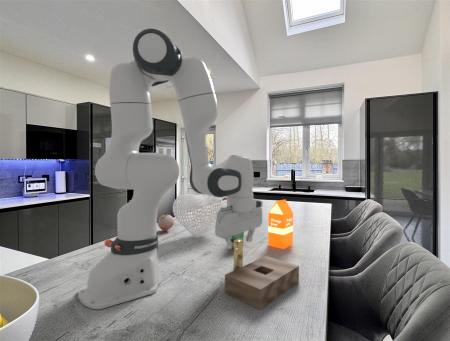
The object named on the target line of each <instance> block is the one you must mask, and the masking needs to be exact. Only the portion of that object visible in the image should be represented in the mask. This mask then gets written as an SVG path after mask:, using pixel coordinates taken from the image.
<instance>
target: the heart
mask: <svg viewBox="0 0 450 341" xmlns="http://www.w3.org/2000/svg"><path fill="white" fill-rule="evenodd" d="M221 208H224V200H223V197H214V196H210V195H206V194H199V193H198V194H194V193H183V194H180V195H178V196H177V197H176V199H174V201H173V204H172V213H173V216H174V217H175V219H176V220H177V221H178V223H179V224H180V225H181V226H183V227H184V228H185V229H186V230H187V231H188V232H189V233H190V234H191V235H192V236H193V237H194V238H195V237H196V238H198V239H199V238H201V237H203V236H204V235H205V234H206V233H207V231H208V230H209V229H210V228H211V226H212V225H213V224H214V222H216V218H217V213H218V212H219V210H220V209H221ZM220 212H221V211H220Z"/></svg>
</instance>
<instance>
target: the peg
mask: <svg viewBox="0 0 450 341" xmlns="http://www.w3.org/2000/svg"><path fill="white" fill-rule="evenodd" d="M243 249H244V239H243V240H239V239H237V240H234V250H233V271H234V270H236V269H238V268H241V267H243V266H244V263H243V262H244V256H243V255H244V250H243Z"/></svg>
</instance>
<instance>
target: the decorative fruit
mask: <svg viewBox="0 0 450 341" xmlns="http://www.w3.org/2000/svg"><path fill="white" fill-rule="evenodd" d="M174 224H175V219H174V217H173V216H172V215H171V214H169V213H166V212H165V214H164V215H161V216H160V217H159V218H158V219H157V226H158V228H159V229H160V230H161V231H163V232H167V231H169V230H170V229H172V228H173V227H174Z"/></svg>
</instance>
